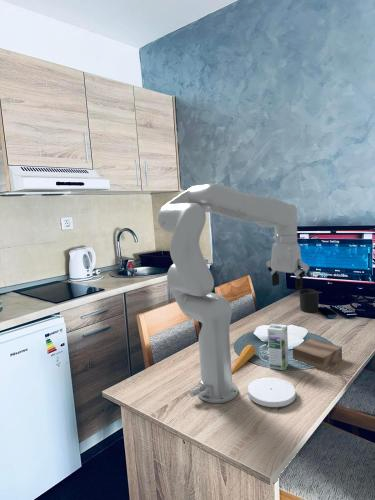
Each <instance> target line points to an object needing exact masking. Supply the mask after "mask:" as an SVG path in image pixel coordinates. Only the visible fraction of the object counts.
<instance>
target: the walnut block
mask: <svg viewBox="0 0 375 500" xmlns="http://www.w3.org/2000/svg"><path fill="white" fill-rule="evenodd" d="M342 348H343V347H342V346H339V345H337V344H332V343H329V342H325V341H322V340H319V339H315V338H313V337H312V338H310V339H308V340H306V341H304V342H302V343H299V344H298V345H296V346H293V347H292V360H293V359H295V360H298V361H301V362H304V363H306V364H308V365H311V366H314V367H315V368H314V369H316V370H319V371H322V372H325V371H326V370H328V369H329V368H331V367H333V366H335V365H336V364H337V363H339V362H341V361H342V360H343V349H342ZM308 365H307V366H308Z"/></svg>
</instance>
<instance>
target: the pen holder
mask: <svg viewBox="0 0 375 500" xmlns="http://www.w3.org/2000/svg"><path fill="white" fill-rule="evenodd" d="M319 293H320V292H319V291H317V290H315V289H312V288H302V289H299V291H298V295H299V307H300V308H299V309H300V311H301V312H304V313H316V312H318V311H319V299H320V298H319V296H320V295H319Z"/></svg>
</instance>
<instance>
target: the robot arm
mask: <svg viewBox="0 0 375 500" xmlns="http://www.w3.org/2000/svg"><path fill="white" fill-rule="evenodd" d="M206 213H212V214H216V215H219V216H223V217H227V218H231V219H234V220H237V221H244V222H254V223H255V224H256V225H258V226H259V227H262V228H274V235H273V236H272V239H273V240H274V243H273V244H272V248H271V259H269V260H268V261H266V262H265V264H266V267H267V270H268V271H269V273H270V276H271V282H272V286H273V287H275V286H278V285H280V273H288V274H292V273H293V274H294V275H295V278H294V284H295V285H294V286H295V288H294V289H295V290H299V291H300V290H302V289H303V278H304V277H305V275H307V274H308V271H309V270H310V266H309V265H308V264H306V263H305V262H304V261H302V256H301V255H302V254H301V248H300V244H299V242H298V216H297V215H298V214H297V213H298V212H297V206H296V205H295V204H294V203H293V204H291V203H290V204H289V203H287V202H285V201H284V202H283V201H281V200H279V199H276V198H275V199H274V198H269V197H265V196H259V195H255V194H249V193H245V192H242V191H239V190H236V189H234V188H231V187H228V186H225V185H222V184H219V183H205V184H197V185H193V186H191V187H190V188H188V189H187V190H185V191H183V192H181V193H180V194H178V196H176V197H174V198H173V199H171V200H170V201H168V202H167V203H165V204H164V205H163V206H162V207H161V208H160V210H159V212H158V214H157V222H158V225H159V227H160V228H161V229H162V230H163V231H165V232H167V233H173V234H172V236H171V239H170V246H169V254H170V258H171V261H172V263H173V264H171V265H170V266H169V269H168V271H167V273H166V274H167V275H166V280H167V285H168V288H169V290H170V291H171V294H172V296H173V297H174V300H175V301H176V303H177V305H178V307H179V309H180V311H181V312H182V313H183V314H184V315H185V316H186V317H187V318H190V319H191V320H194V321H197V322H199V323H201V328H200V331H199V334H198V350H199V351H198V352H199V364H200V365H199V366H200V379H201V380H199V381H198V385H197V387H195V388H193V389H191V390H189V395H190V397H192V398H194V397H196V396H198V398H199V399H201V400H202V401H204V402H207V403H211V404H222V403H223V404H225V403H227V402H230V401H232V400H234V398H236V397H237V396H238V393H239V391H238V386H237V384H236V383H235V382H233V373H232V358H231V357H232V355H231V339H230V338H231V337H230V329H231V328H230V327H231V326H230V325H231V319H232V305H231V303H230V301H229V300H228V299H227V298H226V297H224V296H222V295H220V294H218V293H214V292H212V291H213V290H214V287H215V282H214V281H215V280H214V277H213V274H212V272H211V270H210V267H209V265H208V264H207V262H206V260H205V257H204V255H203V253H202V250H201V246H200V240H201V235H202V232H203V229H204V227H205V224H206V220H207V219H206V218H207V215H206ZM279 272H280V273H279Z"/></svg>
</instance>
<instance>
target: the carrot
mask: <svg viewBox="0 0 375 500" xmlns="http://www.w3.org/2000/svg"><path fill="white" fill-rule="evenodd" d="M255 354H256V347H254V345H252V344H247V345H245V347H244V348H243V349H242V351H241V353H240V354H239V356H238V357H237V359H236V362H235V363H234V365H233V367H231V371H232V374H234V373H235V372H236V371H238V370H239V369H240V368H241V367H242V366H243V365H245V363H247V362H248V361H249V360H250V359H251V358H252V357H254V356H255Z"/></svg>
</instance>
